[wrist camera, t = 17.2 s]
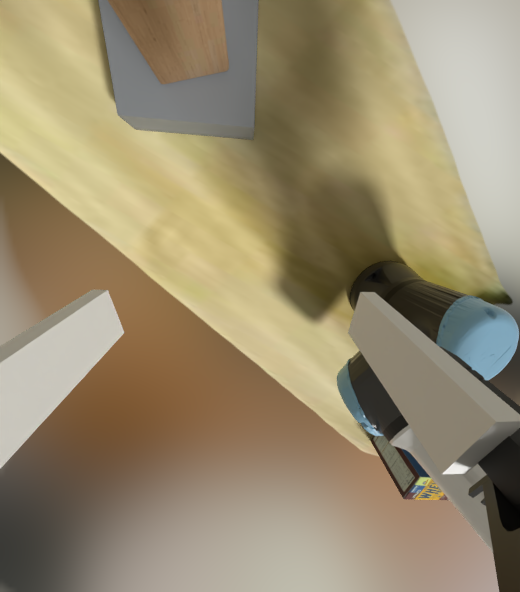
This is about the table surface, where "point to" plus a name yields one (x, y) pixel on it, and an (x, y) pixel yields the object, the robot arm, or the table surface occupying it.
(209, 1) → the wooden block
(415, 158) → the table surface
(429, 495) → the protein box
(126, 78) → the base block
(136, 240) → the table surface
